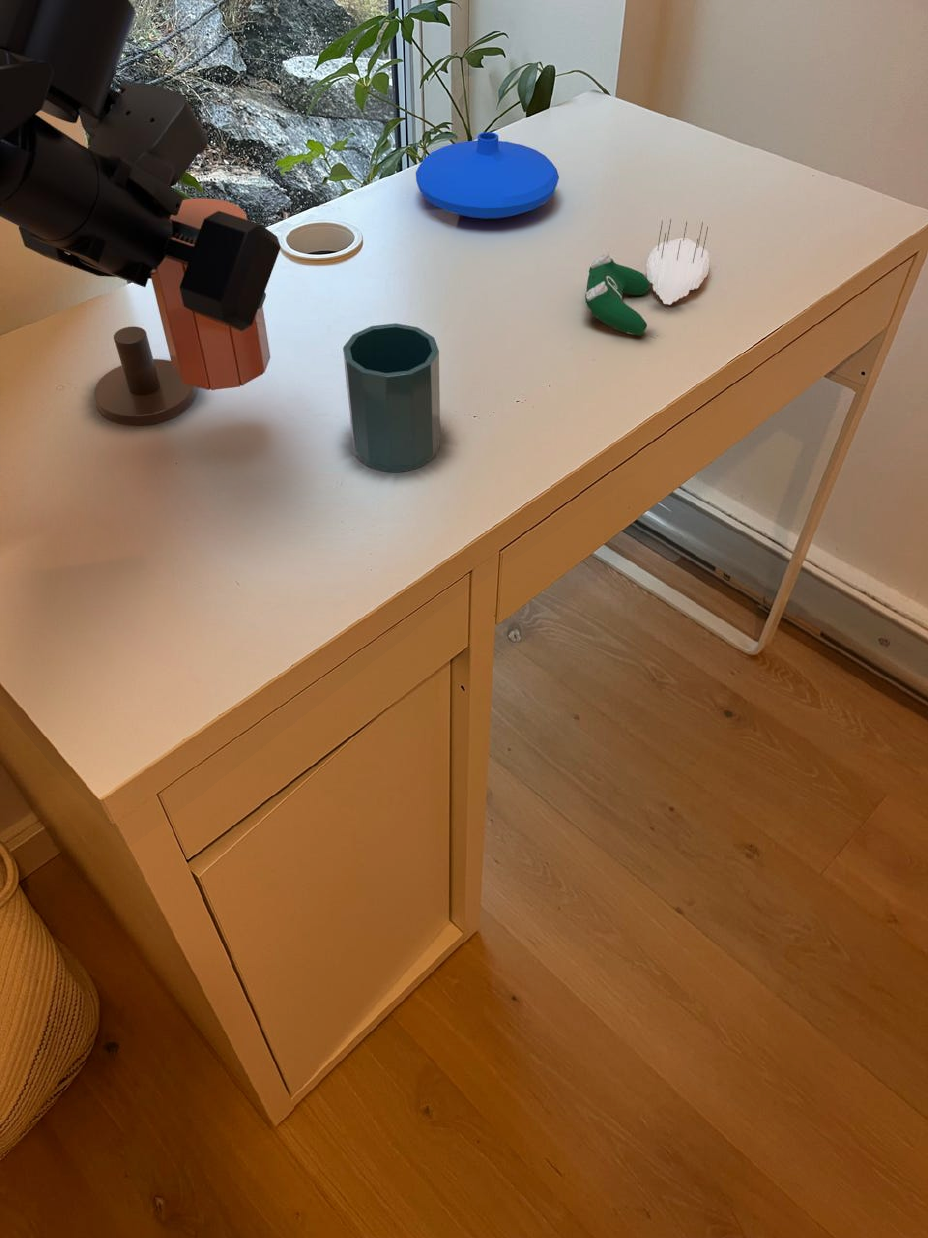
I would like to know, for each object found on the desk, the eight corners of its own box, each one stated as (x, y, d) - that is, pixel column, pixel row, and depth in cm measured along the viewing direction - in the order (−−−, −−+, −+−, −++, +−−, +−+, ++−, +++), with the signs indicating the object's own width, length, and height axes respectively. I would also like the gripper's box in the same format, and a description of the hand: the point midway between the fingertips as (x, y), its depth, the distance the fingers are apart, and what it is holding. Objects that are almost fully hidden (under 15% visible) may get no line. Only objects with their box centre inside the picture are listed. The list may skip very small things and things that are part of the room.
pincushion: (655, 244, 102) (664, 191, 98) (714, 253, 101) (725, 200, 97) (635, 302, 95) (643, 246, 91) (697, 312, 94) (709, 256, 89)
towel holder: (95, 431, 81) (73, 369, 76) (98, 374, 86) (79, 313, 82) (198, 419, 82) (183, 357, 77) (195, 363, 87) (181, 302, 83)
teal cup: (359, 477, 77) (350, 380, 70) (348, 424, 82) (338, 329, 75) (446, 466, 78) (445, 369, 71) (430, 414, 83) (428, 319, 76)
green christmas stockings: (622, 303, 98) (584, 261, 95) (653, 281, 96) (614, 236, 93) (617, 354, 92) (576, 310, 89) (650, 332, 90) (608, 285, 87)
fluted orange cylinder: (163, 387, 72) (126, 244, 63) (189, 334, 76) (158, 194, 68) (257, 392, 71) (232, 249, 63) (277, 338, 76) (257, 199, 68)
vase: (582, 193, 110) (588, 128, 105) (509, 249, 102) (512, 181, 96) (466, 159, 116) (466, 96, 111) (387, 210, 107) (384, 144, 102)
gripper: (234, 86, 52) (368, 211, 66) (-6, 22, 58) (164, 148, 73) (162, 287, 53) (309, 366, 68) (-64, 203, 59) (114, 291, 74)
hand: (222, 286), depth 70 cm, fingers closed on fluted orange cylinder, 7 cm apart
